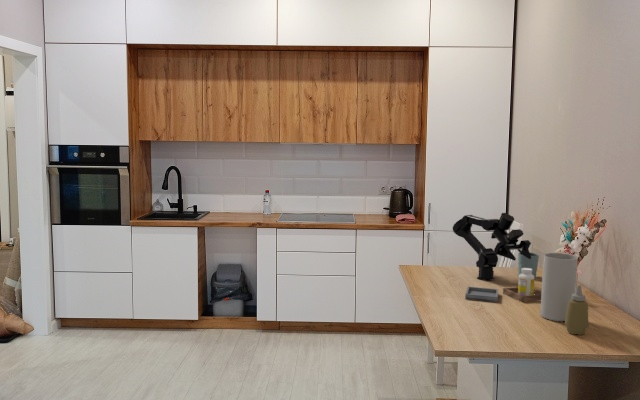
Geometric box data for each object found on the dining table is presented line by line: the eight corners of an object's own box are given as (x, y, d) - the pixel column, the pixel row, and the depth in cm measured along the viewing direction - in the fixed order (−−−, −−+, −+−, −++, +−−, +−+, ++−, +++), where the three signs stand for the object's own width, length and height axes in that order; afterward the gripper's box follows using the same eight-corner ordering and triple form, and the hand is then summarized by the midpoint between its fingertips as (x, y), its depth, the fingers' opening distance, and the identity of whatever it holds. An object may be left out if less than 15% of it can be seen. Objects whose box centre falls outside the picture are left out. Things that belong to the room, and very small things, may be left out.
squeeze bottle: (586, 330, 220) (590, 284, 218) (588, 337, 212) (592, 289, 210) (563, 328, 223) (566, 281, 220) (564, 335, 215) (568, 287, 213)
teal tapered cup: (516, 277, 300) (517, 254, 298) (517, 273, 309) (518, 251, 308) (537, 280, 296) (538, 256, 295) (538, 275, 305) (539, 252, 304)
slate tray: (467, 291, 272) (467, 286, 272) (498, 294, 268) (498, 289, 268) (465, 299, 260) (465, 294, 259) (497, 302, 255) (497, 297, 255)
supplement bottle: (531, 295, 268) (532, 267, 266) (535, 299, 261) (536, 270, 260) (516, 294, 269) (517, 266, 267) (519, 298, 262) (521, 270, 260)
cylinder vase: (533, 314, 239) (536, 254, 236) (556, 311, 244) (560, 252, 241) (556, 323, 228) (560, 260, 225) (580, 320, 233) (585, 258, 230)
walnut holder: (502, 293, 270) (503, 288, 269) (528, 291, 274) (529, 286, 273) (521, 302, 256) (522, 296, 256) (548, 300, 260) (549, 294, 260)
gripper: (494, 225, 275) (514, 247, 263) (525, 223, 282) (545, 244, 271) (485, 243, 281) (504, 265, 269) (516, 241, 288) (535, 262, 277)
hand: (523, 259), depth 272 cm, fingers open, 9 cm apart
